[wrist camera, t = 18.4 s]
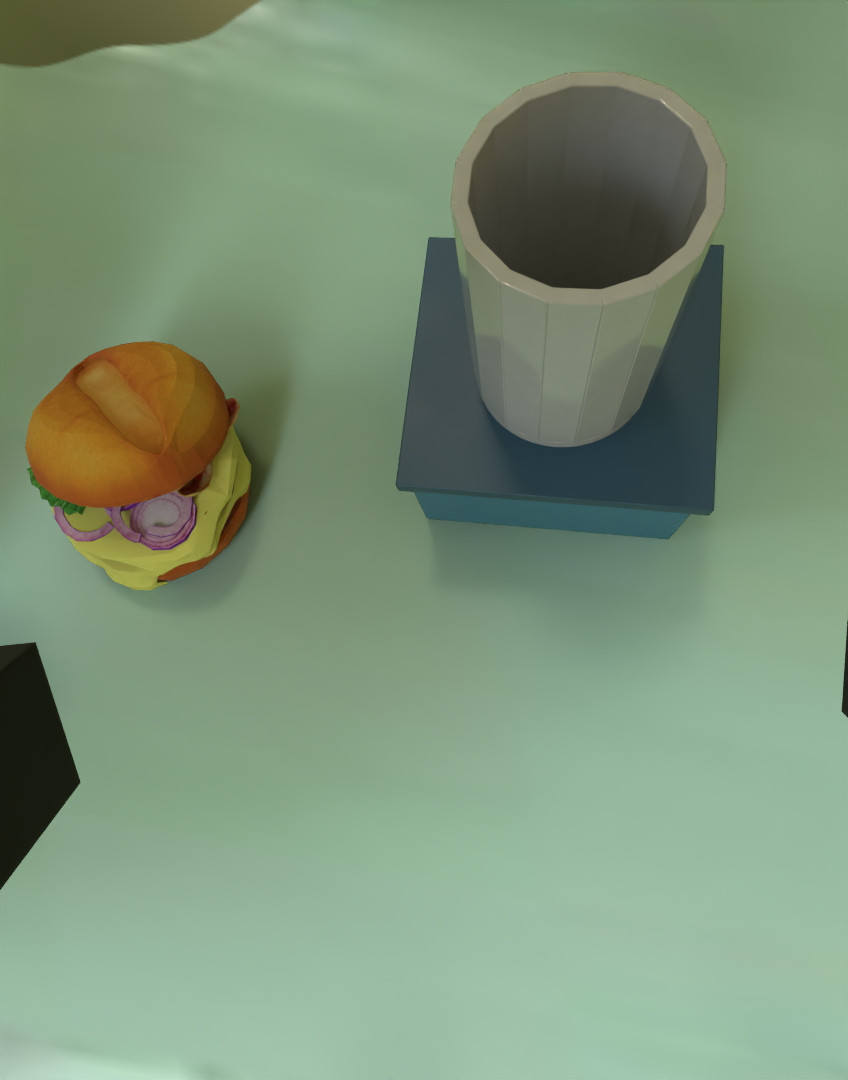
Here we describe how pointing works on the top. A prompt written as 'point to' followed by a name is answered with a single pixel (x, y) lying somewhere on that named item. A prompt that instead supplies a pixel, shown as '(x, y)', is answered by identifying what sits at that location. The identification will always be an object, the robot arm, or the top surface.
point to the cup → (581, 247)
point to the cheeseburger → (141, 462)
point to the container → (560, 472)
